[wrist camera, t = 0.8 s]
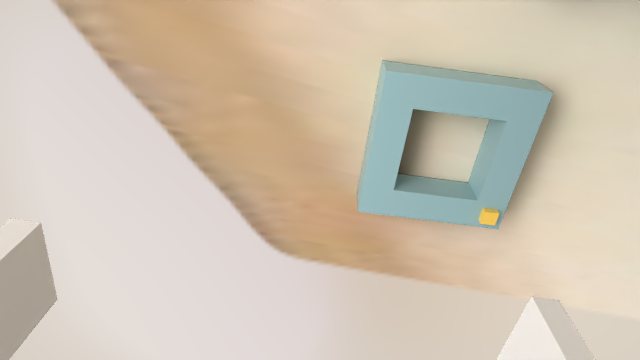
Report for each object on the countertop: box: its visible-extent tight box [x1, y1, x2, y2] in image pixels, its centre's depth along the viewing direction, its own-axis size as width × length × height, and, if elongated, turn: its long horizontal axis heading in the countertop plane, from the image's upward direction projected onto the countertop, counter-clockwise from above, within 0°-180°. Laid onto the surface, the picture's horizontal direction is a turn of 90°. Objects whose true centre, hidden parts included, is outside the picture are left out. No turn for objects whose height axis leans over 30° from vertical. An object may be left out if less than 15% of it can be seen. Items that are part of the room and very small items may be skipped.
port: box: [357, 60, 553, 229], centre depth 33 cm, size 12×12×4 cm
